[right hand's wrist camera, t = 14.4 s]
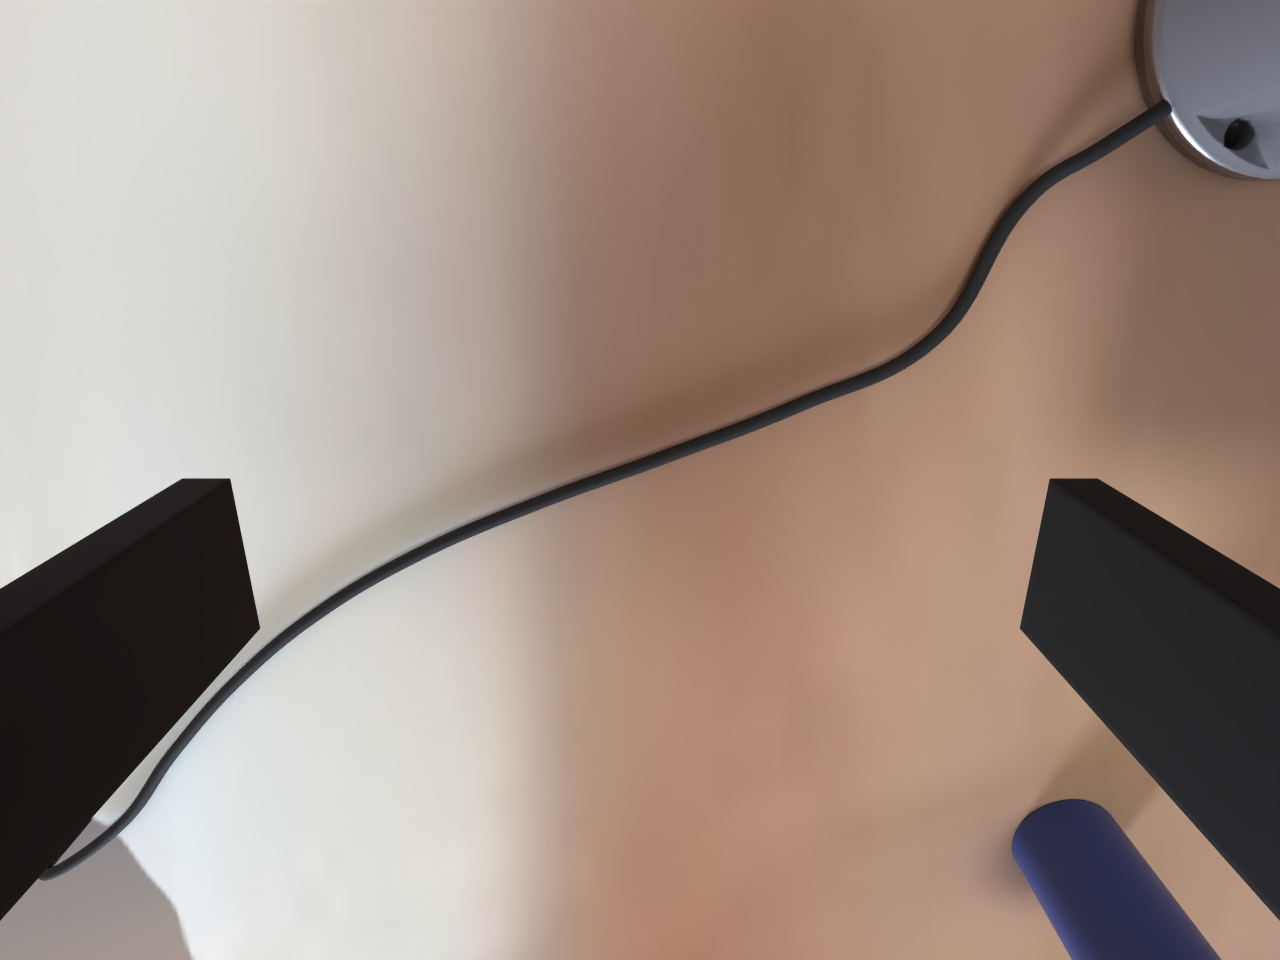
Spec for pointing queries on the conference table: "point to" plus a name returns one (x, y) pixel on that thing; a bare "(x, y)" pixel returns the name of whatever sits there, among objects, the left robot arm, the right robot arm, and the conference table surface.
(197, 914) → the conference table surface
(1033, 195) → the right robot arm
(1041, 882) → the canister
